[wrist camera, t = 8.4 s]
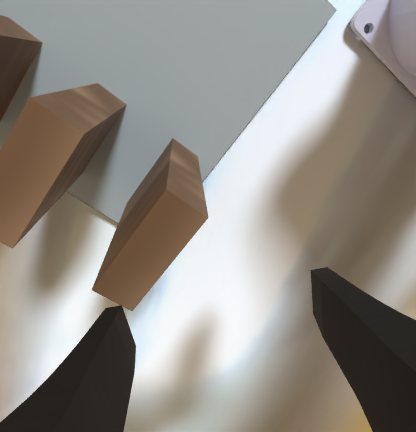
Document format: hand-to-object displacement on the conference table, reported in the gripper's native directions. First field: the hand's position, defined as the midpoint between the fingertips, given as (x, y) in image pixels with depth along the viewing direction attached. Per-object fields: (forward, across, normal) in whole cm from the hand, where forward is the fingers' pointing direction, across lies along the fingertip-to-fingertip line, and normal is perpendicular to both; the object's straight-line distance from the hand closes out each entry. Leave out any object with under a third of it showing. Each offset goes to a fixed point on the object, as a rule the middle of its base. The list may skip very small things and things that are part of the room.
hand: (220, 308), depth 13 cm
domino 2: (+10, +6, -6) cm, 13 cm away
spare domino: (+10, +2, -2) cm, 10 cm away
